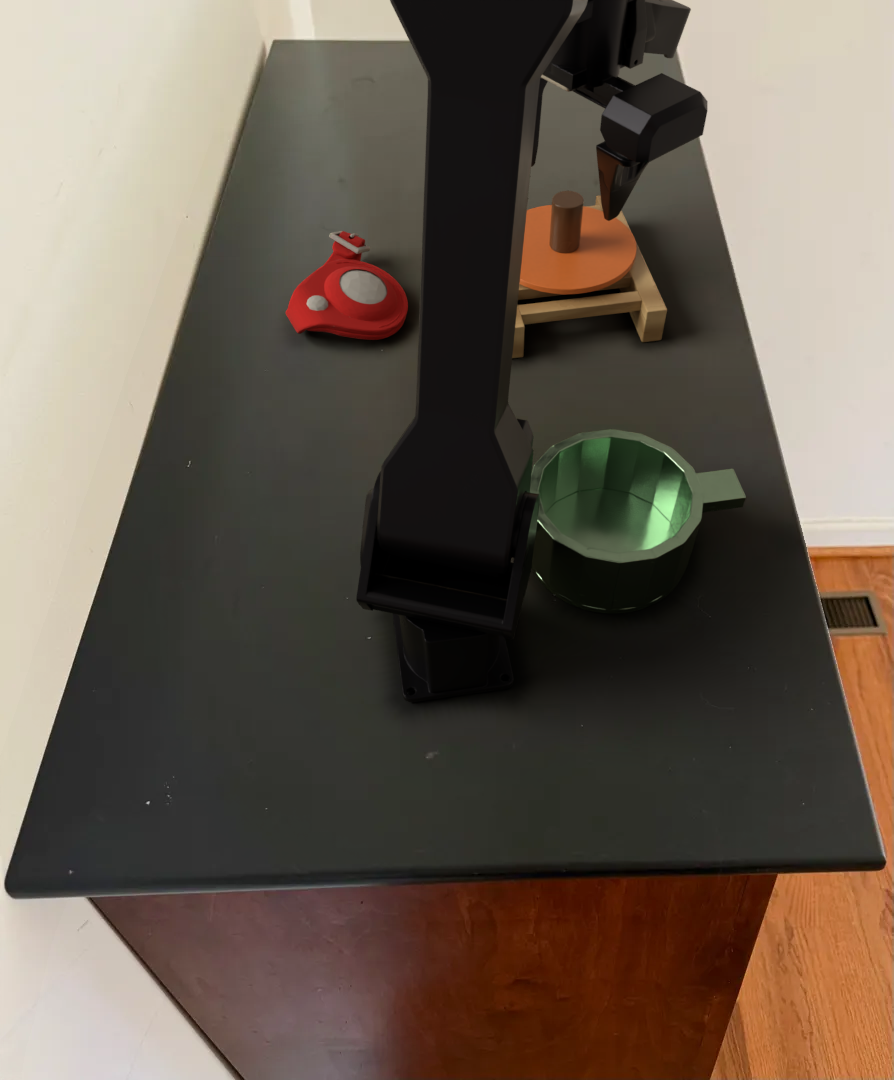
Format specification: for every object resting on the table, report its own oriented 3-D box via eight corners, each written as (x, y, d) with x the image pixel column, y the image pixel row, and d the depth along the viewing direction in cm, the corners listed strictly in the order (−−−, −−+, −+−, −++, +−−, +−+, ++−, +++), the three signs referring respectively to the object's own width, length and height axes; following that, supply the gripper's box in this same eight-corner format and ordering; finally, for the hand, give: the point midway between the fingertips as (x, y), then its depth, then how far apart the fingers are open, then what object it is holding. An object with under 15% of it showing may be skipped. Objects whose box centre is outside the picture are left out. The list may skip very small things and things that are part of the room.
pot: (750, 595, 56) (773, 541, 52) (499, 630, 55) (501, 578, 51) (698, 472, 63) (714, 414, 58) (472, 502, 62) (471, 446, 57)
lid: (652, 291, 70) (662, 233, 66) (506, 309, 69) (508, 251, 65) (614, 209, 77) (621, 152, 73) (481, 224, 76) (481, 167, 72)
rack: (661, 340, 71) (667, 309, 69) (503, 359, 70) (503, 329, 68) (610, 224, 81) (614, 193, 78) (470, 240, 80) (470, 209, 78)
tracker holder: (434, 311, 72) (324, 334, 67) (419, 350, 76) (313, 375, 71) (363, 209, 76) (254, 224, 72) (352, 250, 80) (247, 267, 75)
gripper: (791, -29, 55) (735, 204, 67) (578, -109, 64) (563, 109, 76) (661, 28, 51) (627, 264, 63) (454, -66, 60) (459, 156, 72)
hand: (568, 191), depth 69 cm, fingers open, 9 cm apart
